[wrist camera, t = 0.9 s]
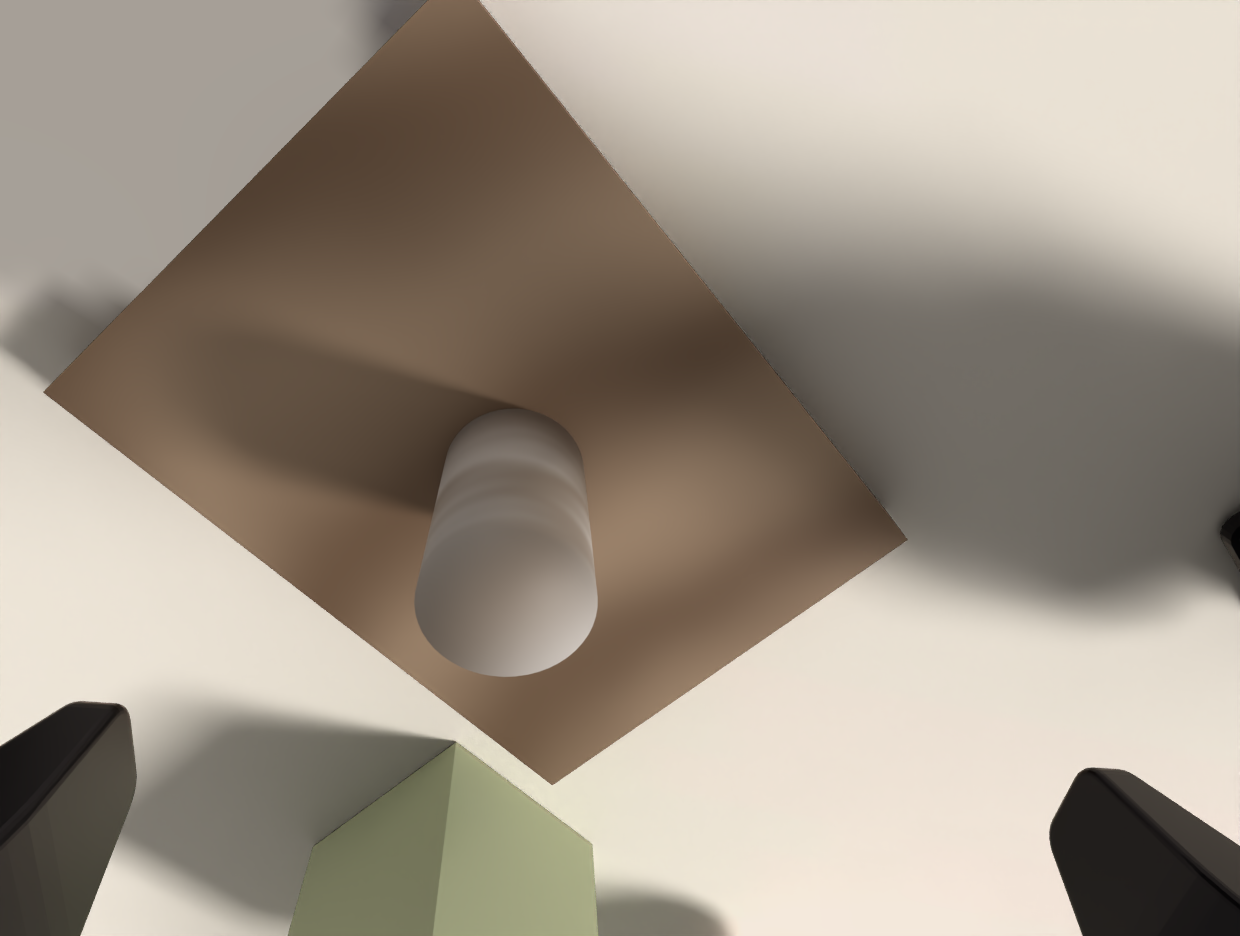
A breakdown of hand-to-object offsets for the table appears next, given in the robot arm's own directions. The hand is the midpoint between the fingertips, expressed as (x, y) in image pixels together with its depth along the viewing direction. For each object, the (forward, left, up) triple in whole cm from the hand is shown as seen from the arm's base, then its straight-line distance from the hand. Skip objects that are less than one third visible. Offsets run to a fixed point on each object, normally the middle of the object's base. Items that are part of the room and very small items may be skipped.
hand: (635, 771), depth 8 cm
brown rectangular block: (-1, +3, -13) cm, 14 cm away
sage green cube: (-10, +14, -13) cm, 22 cm away
